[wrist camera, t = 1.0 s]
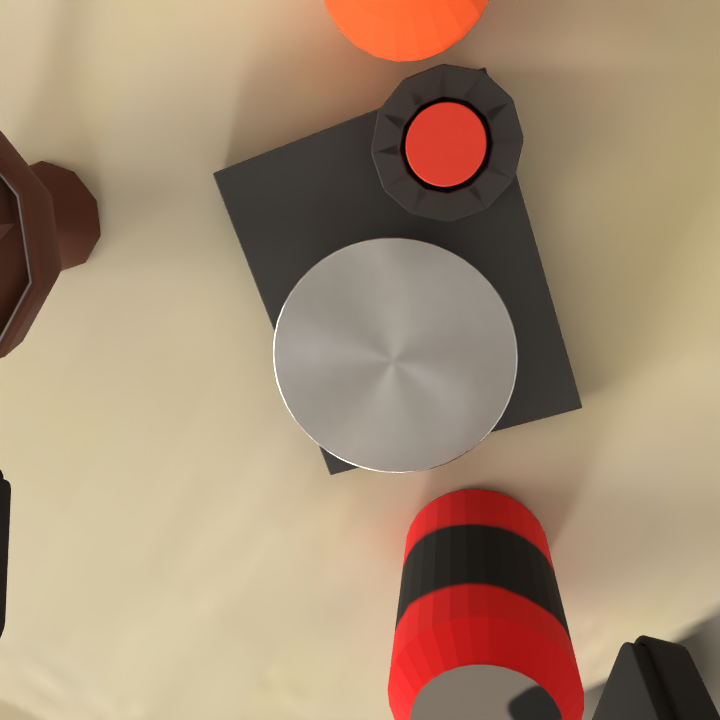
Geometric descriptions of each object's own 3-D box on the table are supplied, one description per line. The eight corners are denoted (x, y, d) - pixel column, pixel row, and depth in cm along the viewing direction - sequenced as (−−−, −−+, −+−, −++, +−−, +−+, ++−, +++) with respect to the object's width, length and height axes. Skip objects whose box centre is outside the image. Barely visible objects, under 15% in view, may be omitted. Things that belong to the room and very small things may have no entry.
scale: (218, 161, 32) (194, 162, 29) (492, 53, 29) (496, 41, 26) (334, 463, 36) (324, 490, 33) (588, 395, 33) (601, 417, 30)
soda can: (573, 572, 36) (630, 765, 24) (453, 628, 38) (453, 830, 26) (500, 461, 34) (523, 609, 23) (379, 525, 36) (345, 691, 25)
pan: (242, 280, 30) (236, 284, 30) (475, 200, 28) (475, 201, 27) (324, 490, 33) (321, 497, 32) (545, 432, 30) (547, 439, 30)
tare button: (397, 121, 28) (394, 119, 26) (471, 93, 27) (473, 89, 26) (421, 195, 29) (419, 197, 27) (494, 169, 28) (496, 170, 26)
